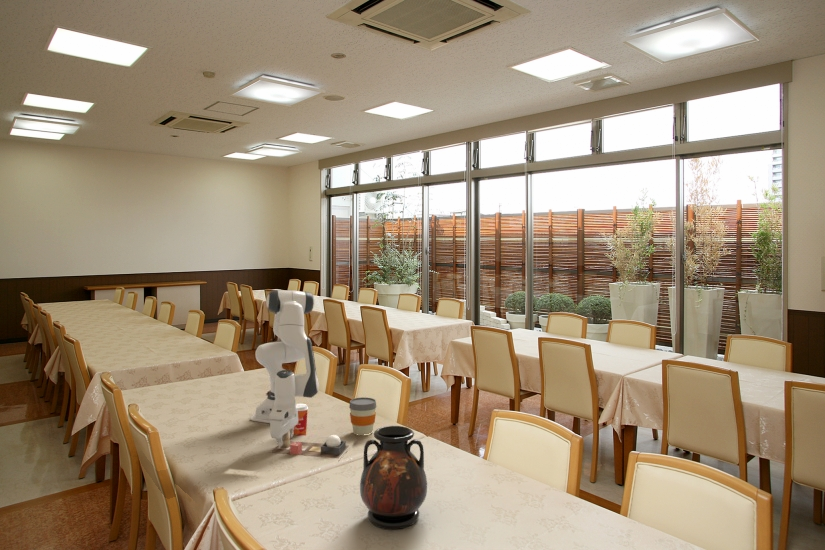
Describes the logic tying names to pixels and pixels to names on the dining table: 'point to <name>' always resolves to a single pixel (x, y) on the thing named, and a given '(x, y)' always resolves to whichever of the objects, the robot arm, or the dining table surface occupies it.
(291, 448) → the die
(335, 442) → the dome button
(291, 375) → the robot arm
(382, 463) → the amphora vase
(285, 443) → the pawn
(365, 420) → the reusable coffee cup
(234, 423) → the dining table surface
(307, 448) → the game board
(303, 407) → the paper cup
